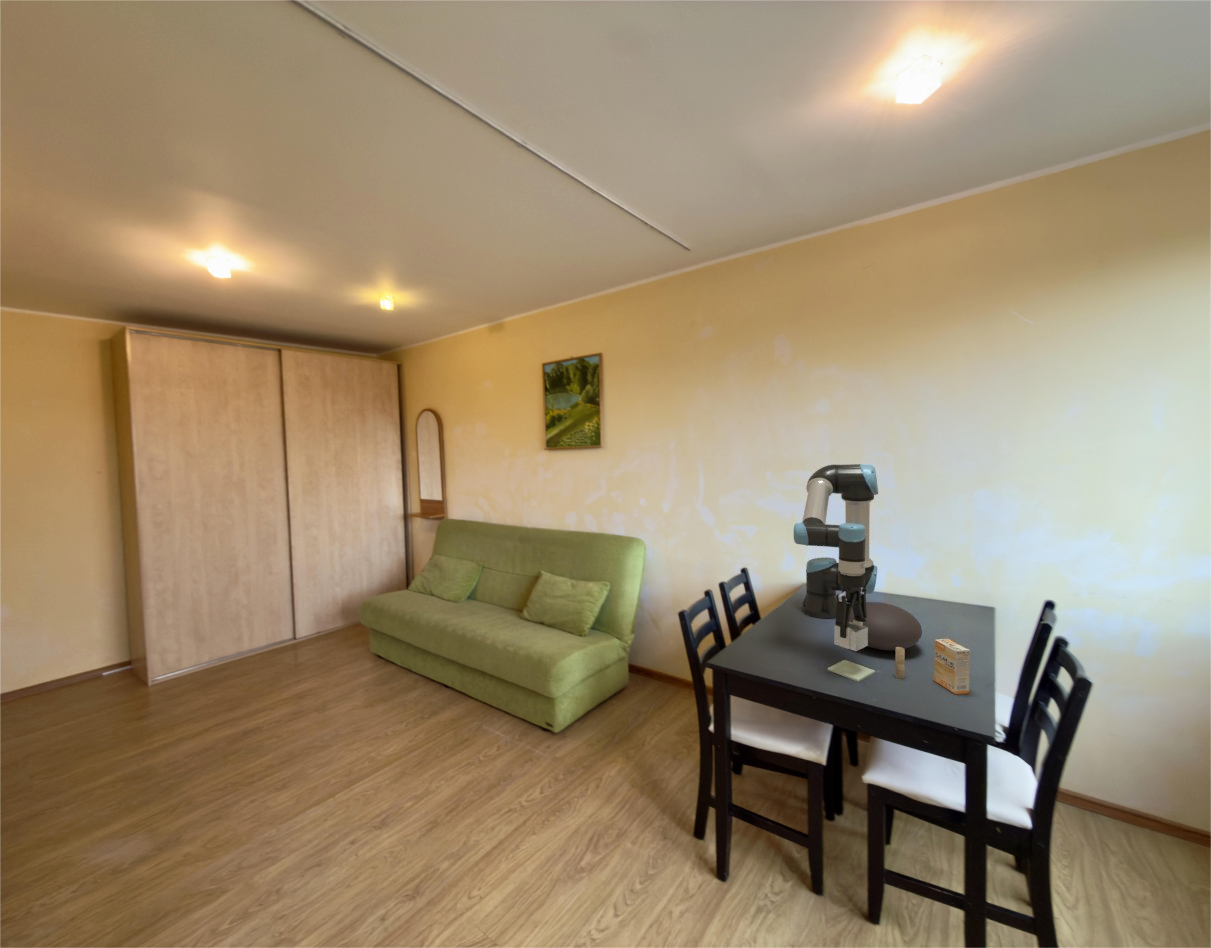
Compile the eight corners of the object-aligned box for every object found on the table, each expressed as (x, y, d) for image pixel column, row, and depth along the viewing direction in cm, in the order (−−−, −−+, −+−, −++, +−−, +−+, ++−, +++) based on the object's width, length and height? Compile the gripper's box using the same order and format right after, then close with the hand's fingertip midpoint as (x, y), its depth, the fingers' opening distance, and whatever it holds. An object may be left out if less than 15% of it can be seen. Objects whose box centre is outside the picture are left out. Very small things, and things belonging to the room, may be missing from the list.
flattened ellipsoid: (873, 664, 160) (874, 619, 159) (827, 635, 185) (827, 596, 184) (939, 657, 164) (940, 613, 163) (886, 629, 189) (886, 591, 188)
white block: (834, 643, 156) (834, 625, 156) (846, 638, 160) (846, 620, 160) (855, 651, 151) (856, 632, 150) (867, 645, 155) (867, 626, 154)
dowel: (893, 676, 152) (894, 648, 151) (897, 674, 153) (897, 646, 153) (902, 679, 150) (902, 650, 149) (905, 677, 151) (906, 648, 151)
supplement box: (932, 681, 148) (933, 638, 148) (947, 680, 149) (948, 638, 148) (954, 694, 140) (955, 650, 139) (970, 693, 141) (971, 649, 140)
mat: (827, 669, 157) (827, 668, 157) (844, 661, 163) (844, 659, 163) (858, 681, 149) (858, 679, 149) (875, 672, 155) (875, 670, 155)
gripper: (846, 580, 145) (845, 656, 147) (879, 570, 157) (879, 640, 158) (822, 575, 151) (822, 648, 153) (856, 565, 163) (856, 633, 164)
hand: (851, 643), depth 155 cm, fingers closed on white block, 7 cm apart
